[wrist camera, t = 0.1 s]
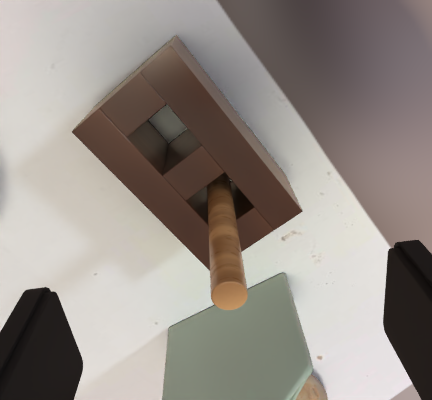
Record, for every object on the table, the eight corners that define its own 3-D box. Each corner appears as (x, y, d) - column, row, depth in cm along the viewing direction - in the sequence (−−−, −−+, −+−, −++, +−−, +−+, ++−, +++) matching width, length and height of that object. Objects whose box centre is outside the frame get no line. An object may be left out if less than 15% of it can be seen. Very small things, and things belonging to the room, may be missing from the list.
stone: (322, 356, 59) (297, 370, 52) (345, 402, 56) (322, 421, 50) (285, 374, 62) (258, 388, 56) (306, 417, 59) (279, 438, 53)
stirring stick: (204, 159, 42) (208, 284, 24) (226, 156, 42) (246, 279, 24) (207, 179, 43) (213, 312, 25) (228, 176, 43) (249, 308, 25)
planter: (200, 365, 55) (201, 541, 38) (167, 327, 52) (151, 500, 34) (311, 314, 52) (369, 481, 34) (284, 271, 49) (331, 430, 31)
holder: (176, 34, 37) (170, 45, 29) (285, 175, 43) (302, 211, 36) (94, 106, 39) (71, 132, 32) (209, 228, 46) (211, 272, 39)
